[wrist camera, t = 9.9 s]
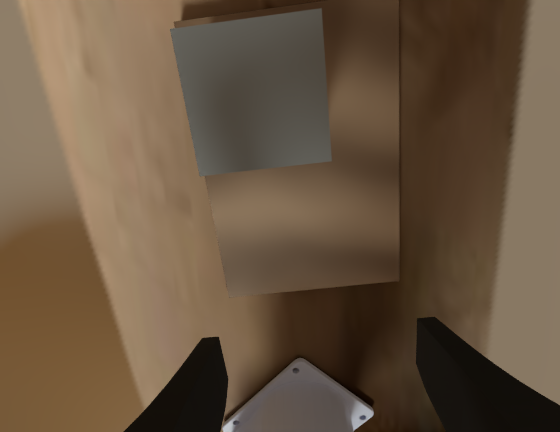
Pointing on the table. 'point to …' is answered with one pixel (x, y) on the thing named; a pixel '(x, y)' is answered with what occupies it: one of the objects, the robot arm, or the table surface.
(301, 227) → the stand
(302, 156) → the matte gray cube
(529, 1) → the table surface
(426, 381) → the robot arm
